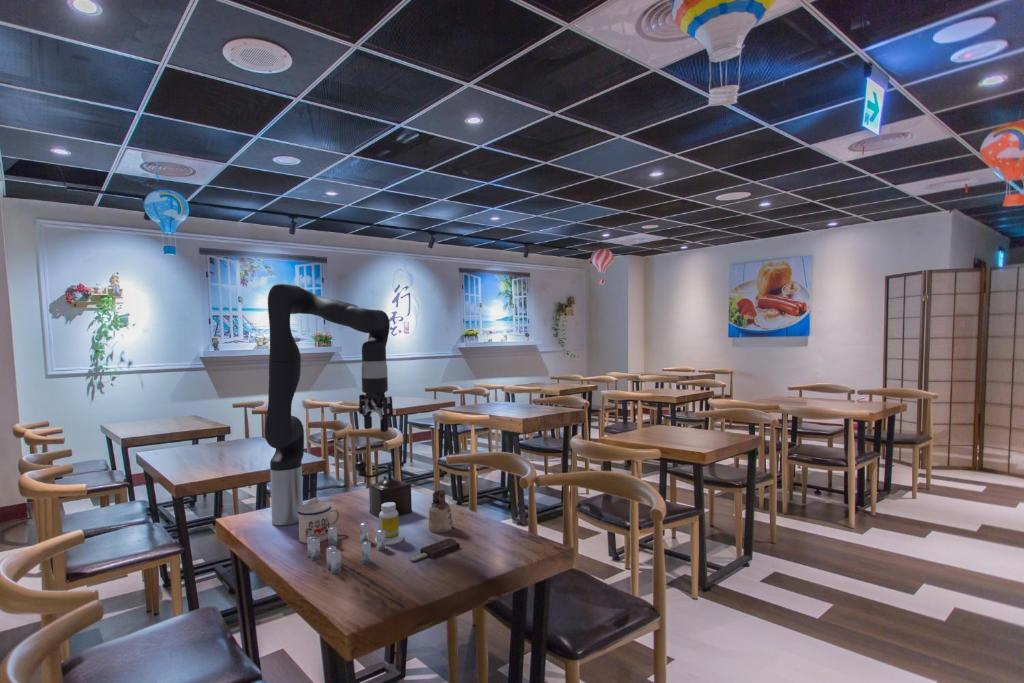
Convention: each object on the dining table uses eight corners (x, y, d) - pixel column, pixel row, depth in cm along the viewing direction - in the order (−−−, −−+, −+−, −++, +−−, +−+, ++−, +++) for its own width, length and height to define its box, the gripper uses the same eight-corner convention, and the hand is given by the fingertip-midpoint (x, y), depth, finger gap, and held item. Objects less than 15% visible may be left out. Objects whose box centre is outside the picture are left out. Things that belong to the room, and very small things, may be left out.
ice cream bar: (416, 566, 134) (462, 548, 145) (416, 559, 134) (462, 542, 145) (405, 560, 138) (450, 543, 149) (404, 554, 138) (450, 537, 149)
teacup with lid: (304, 546, 147) (303, 505, 147) (294, 537, 155) (293, 498, 154) (346, 535, 155) (345, 496, 155) (334, 527, 162) (333, 489, 162)
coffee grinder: (395, 505, 182) (394, 453, 182) (412, 512, 174) (411, 458, 174) (353, 516, 172) (351, 461, 172) (369, 524, 164) (367, 466, 164)
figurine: (450, 523, 163) (449, 484, 163) (455, 531, 157) (453, 490, 156) (427, 526, 161) (426, 487, 161) (431, 534, 154) (429, 493, 154)
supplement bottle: (375, 538, 151) (374, 504, 151) (391, 532, 155) (390, 500, 155) (387, 542, 147) (386, 508, 147) (402, 536, 151) (401, 503, 151)
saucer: (369, 540, 151) (369, 538, 151) (392, 532, 157) (392, 530, 157) (385, 547, 145) (385, 545, 145) (409, 538, 151) (409, 536, 151)
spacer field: (299, 554, 142) (298, 536, 142) (357, 535, 155) (357, 518, 155) (336, 575, 129) (335, 555, 129) (396, 552, 142) (396, 534, 142)
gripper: (399, 376, 156) (400, 430, 157) (372, 374, 166) (373, 426, 166) (377, 378, 151) (378, 434, 151) (350, 376, 160) (352, 429, 161)
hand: (376, 430), depth 159 cm, fingers open, 8 cm apart
